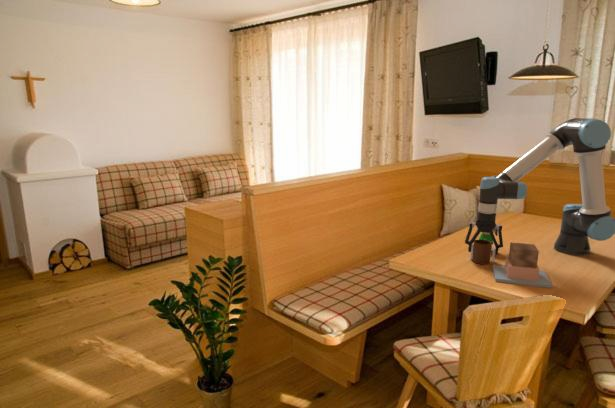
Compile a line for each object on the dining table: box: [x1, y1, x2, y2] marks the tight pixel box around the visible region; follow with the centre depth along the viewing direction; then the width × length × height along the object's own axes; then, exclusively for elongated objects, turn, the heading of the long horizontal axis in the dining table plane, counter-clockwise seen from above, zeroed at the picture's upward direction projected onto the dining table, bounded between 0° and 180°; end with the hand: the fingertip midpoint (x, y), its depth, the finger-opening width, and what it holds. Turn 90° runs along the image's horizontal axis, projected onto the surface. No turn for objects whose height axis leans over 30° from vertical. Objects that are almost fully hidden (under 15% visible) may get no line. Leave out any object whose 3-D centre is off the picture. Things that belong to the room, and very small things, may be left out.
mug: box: [472, 239, 493, 265], centre depth 194 cm, size 12×8×9 cm, turn 146°
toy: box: [476, 227, 499, 245], centre depth 208 cm, size 9×9×15 cm
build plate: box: [492, 256, 553, 289], centre depth 175 cm, size 20×16×6 cm
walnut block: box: [508, 242, 540, 268], centre depth 174 cm, size 9×9×7 cm
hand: (482, 259), depth 195 cm, fingers open, 9 cm apart
